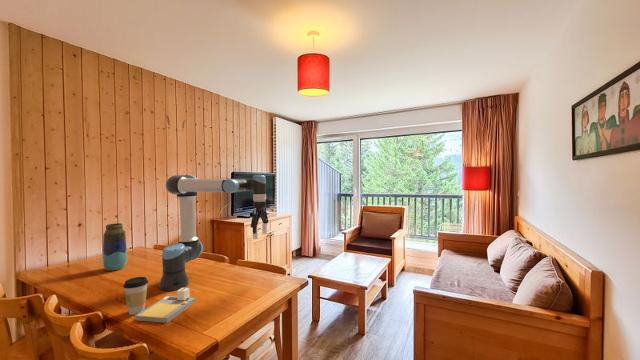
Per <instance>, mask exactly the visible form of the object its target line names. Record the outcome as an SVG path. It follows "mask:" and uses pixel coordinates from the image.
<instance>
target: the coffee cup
mask: <svg viewBox="0 0 640 360" xmlns="http://www.w3.org/2000/svg"><path fill="white" fill-rule="evenodd" d="M148 283H149V280H148V279H147V277H146V276H136V277H133V278H132V277H131V278H129V279H126V280H125V281H124V284H123V288H124V296H125V301H126V307H127V310H128V314H129V316H130V315H132V316H134V315H135V316H136V315H137V314H139V313H140V312H142V311H144V310H145V307H146V299H147V291H148Z"/></svg>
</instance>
